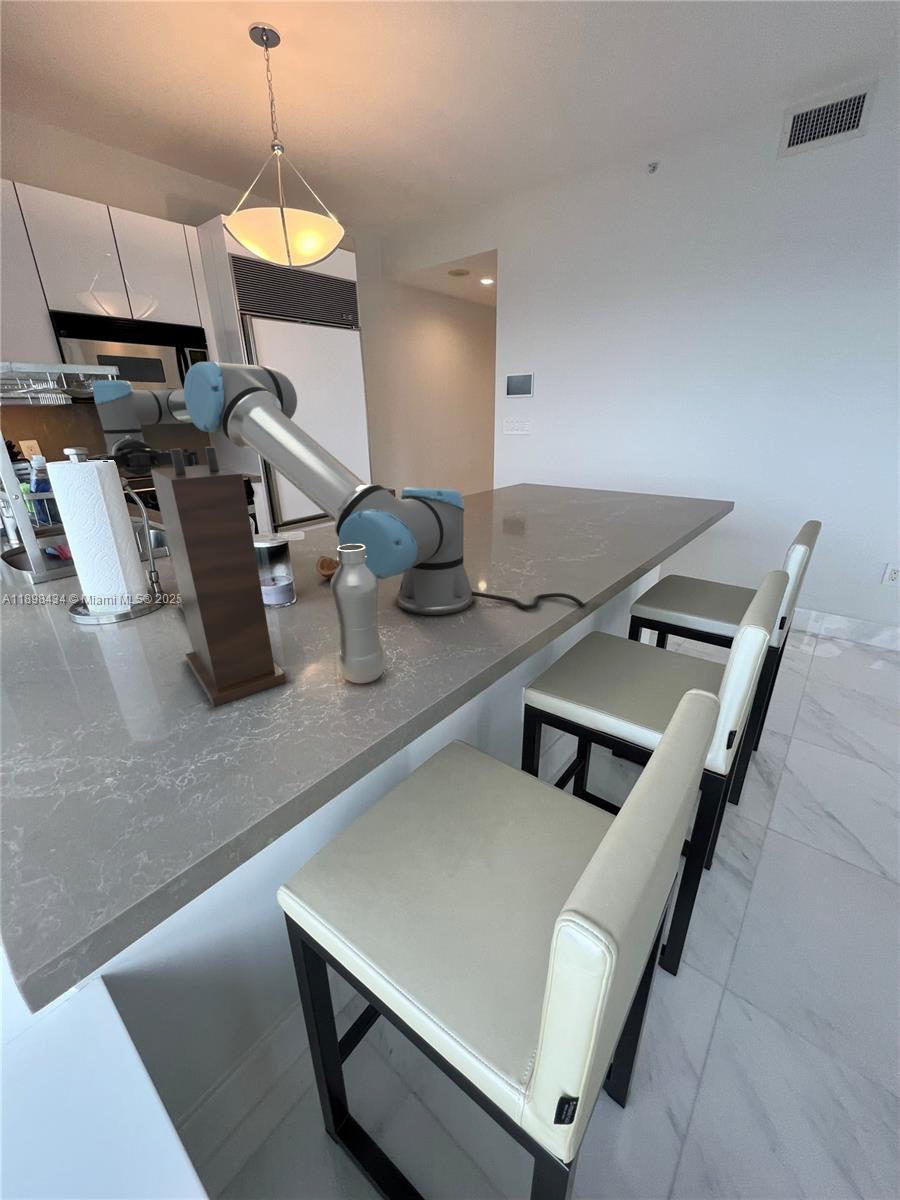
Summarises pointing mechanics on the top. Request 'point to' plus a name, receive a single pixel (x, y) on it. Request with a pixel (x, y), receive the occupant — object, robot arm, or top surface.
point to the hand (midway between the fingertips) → (150, 464)
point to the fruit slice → (327, 566)
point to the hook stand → (217, 577)
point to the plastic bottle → (357, 616)
